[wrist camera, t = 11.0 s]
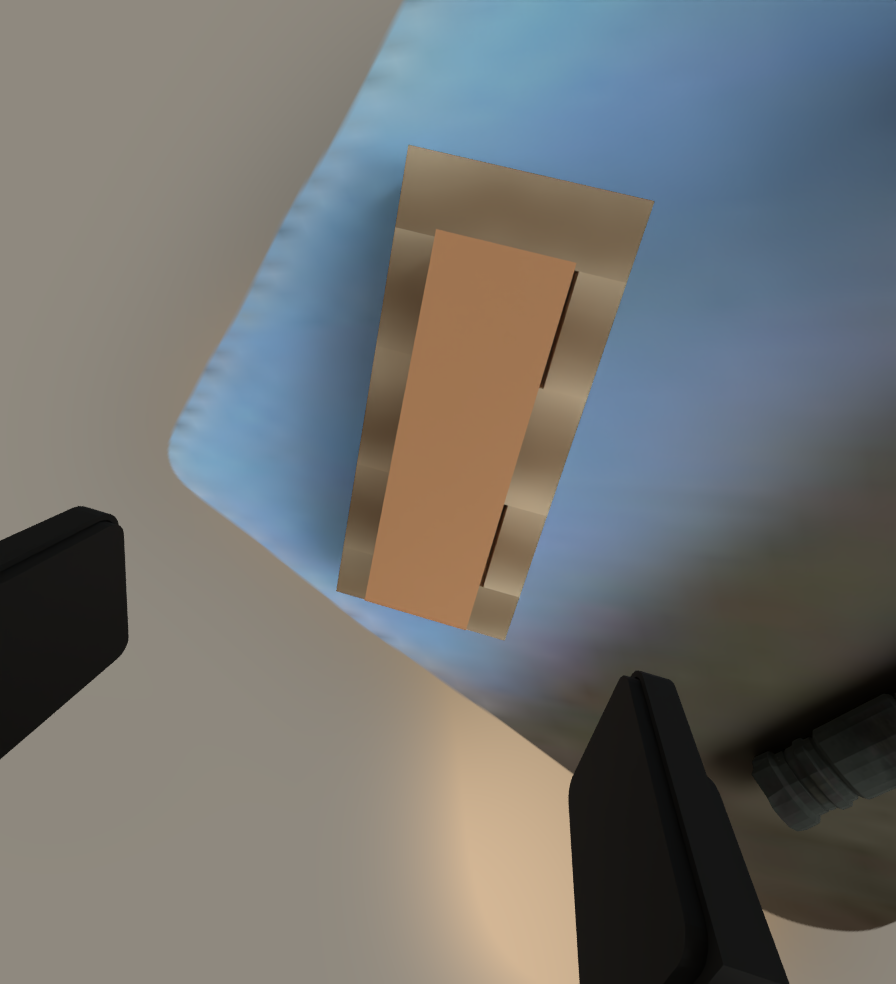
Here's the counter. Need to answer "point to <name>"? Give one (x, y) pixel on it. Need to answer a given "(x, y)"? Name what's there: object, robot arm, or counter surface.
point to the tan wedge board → (463, 421)
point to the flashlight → (832, 765)
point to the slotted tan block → (571, 362)
